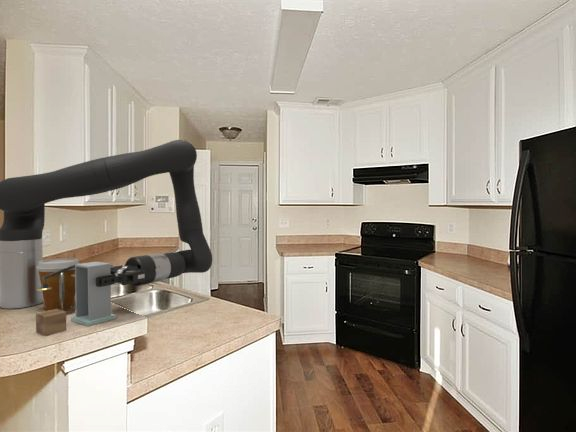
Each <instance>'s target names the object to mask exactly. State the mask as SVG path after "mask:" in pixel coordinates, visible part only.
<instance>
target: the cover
mask: <svg viewBox="0 0 576 432" xmlns="http://www.w3.org/2000/svg"><path fill="white" fill-rule="evenodd" d="M110 265H111V263H109V262H108V263H107V262H102V261H92V262H90V261H89V262H84V263H80V264H75V316H76V317H80V316H84V315H88V321H92V320H96V319H99V318H103V317H107V316H110V315H111V314H112V285H108V286H103V287H97V286H96V278H97V277H99V276H105V275H111V272H110Z"/></svg>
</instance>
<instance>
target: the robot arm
mask: <svg viewBox="0 0 576 432" xmlns="http://www.w3.org/2000/svg"><path fill="white" fill-rule="evenodd" d="M197 154H198V152H197V150H196V148H195V146H194V145H193V144H192V143H191V142H189V141H187V140H183V139H174V140H171V141H169V142H166V143H163V144H160V145H156V146H153V147H151V148H148V149H145V150H144V149H143V150H140V151H133V152H127V153H121V154H115V155H110V156H105V157H100V158H96V159H95V158H94V159H91V160H88V161H83V162H80V163H77V164H73V165H70V166H66V167H63V168H59V169H57V170H54V171H50V172H43V173H38V174H31V175H25V176H24V175H23V176H22V175H21V176H16V177H15V176H14V177H8V178H5V179H3V180H0V210H1V211H2V212H3V222H2V225H1V227H0V308H2V309H22V308H28V307H32V306H33V307H34V306H36V305H40V304H42V303H44V299H43V293H42V291H37V290H36V289H37V288H40V287H41V281H40V276H39V271H38V269H37V268H36V267H37V266H38V263H39V262H40V261H44V260H43V259H44V257H43V254H44V253H43V252H44V251H43V231H44V227H45V217H46V216H45V210H46V209H45V208H46V206H45V204H48V203H50V202H53V201H59V200H62V199H69V198H80V197H88V196H92V195H93V196H95V195H100V194H104V193H107V192H112V191H116V190H119V189H122V188H125V187H128V186H131V185H132V184H135V183H138V182H140V181H142V180H144V179H146V178H149V177H152V176H155V175H156V176H157V175H161V174H168V173H169V175H170V176H169V177H170V180H171V183H172V187H173V188H172V189H173V193H174V201H175V202H174V203H175V214H176V221H177V222H176V223H177V228H178V230H177V231H178V235H179V240H180V241H181V242H182V243H186V244H187V245H188V246H189V248H190V249H183V250H179V251H176V252H164V253H153V254H152V253H151V254H144V255H137V256H131V257H129V258H128V259H127V260H126V262H125V264H124V265H123V264H116V265H112V264H110V272H111V275H105V276H99V277H97V278H96V286H97V287H103V286H108V285H111V286H112V285H114V286H118V285H121V286H128V285H130V286H132V287H139V286H144V285H150V284H154V283H158V282H161V281H164V280H167V279H173V278H176V277H179V276H181V275H182V274H189V273H190V274H191V273H192V274H193V273H197V274H198V273H206V272H209V270H210V269H211V267H212V265H213V254H212V250H211V248H210V245H209V244H208V241H207V238H206V236H205V235H204V229H203V222H202V216H201V215H202V214H201V211H200V206H199V202H198V197H197V194H196V189H195V177H194V175H195V174H194V172H195V164H196V163H197V156H198V155H197Z"/></svg>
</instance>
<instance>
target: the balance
mask: <svg viewBox="0 0 576 432" xmlns="http://www.w3.org/2000/svg"><path fill="white" fill-rule="evenodd" d="M72 268H75V264H74V265H72V266H69V267H67V268H64V269H62V270H59V271H57V272H54V273H51V274H49V275H46V276H44V277H43V279H44V284H41V287H40V288H37V289H36V290H37V291H45V290H50V289H52V287H48V284H47V283H45V279H48V278H50V277H52V276H55V275H57V274H59V294H60V308H56V309H59V310H62V311H65V312H66V316H67V315H73V314H76V307H68V306H65V300H64V272H65V271H67V270H70V269H72ZM71 276H72V277H75V274H71ZM52 310H54V309H52Z"/></svg>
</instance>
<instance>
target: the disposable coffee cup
mask: <svg viewBox="0 0 576 432" xmlns="http://www.w3.org/2000/svg"><path fill="white" fill-rule="evenodd" d="M74 264H81V263H80V261H79V259H78V258H73V257H71V258H70V257H65V258H61V257H60V258H50V259H44V260H43V261H40V262H39V263H38V266H37V267H36V268H37V269H38V271H39V276H40V281H41V284H44V279H43V277H44V276H46V275H49V274H51V273H54V272H57V271H59V270H62V269H64V268H67V267H69V266H72V265H74ZM71 274H75V268H72V269H70V270H67V271H65V272H64V300H65V306H68V307H71V308H73V307H74V306H75V301H76V294H75V277H72V276H71ZM45 283H47V284H48V287H52V289H50V290H45V291H42V293H43V303H44V309H45V310H46V311H49V310H52V309H56V308H60V294H59V274H57V275H55V276H52V277H50V278H48V279H45Z"/></svg>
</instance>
